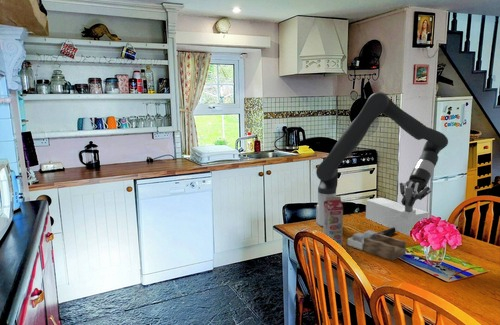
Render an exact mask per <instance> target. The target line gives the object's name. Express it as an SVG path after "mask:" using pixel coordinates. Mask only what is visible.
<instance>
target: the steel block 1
mask: <svg viewBox="0 0 500 325" xmlns="http://www.w3.org/2000/svg"><path fill="white" fill-rule="evenodd" d="M352 237H353V240H354V241H357V242H360V243H364V233H363V232H362V233H361V232H356V233H354V234H352Z"/></svg>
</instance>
